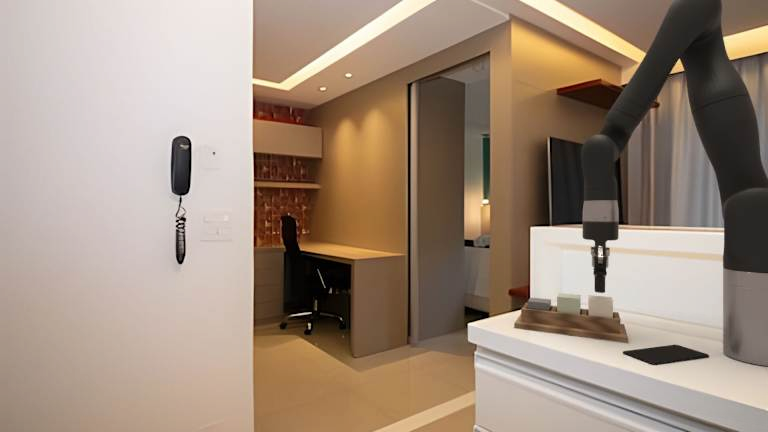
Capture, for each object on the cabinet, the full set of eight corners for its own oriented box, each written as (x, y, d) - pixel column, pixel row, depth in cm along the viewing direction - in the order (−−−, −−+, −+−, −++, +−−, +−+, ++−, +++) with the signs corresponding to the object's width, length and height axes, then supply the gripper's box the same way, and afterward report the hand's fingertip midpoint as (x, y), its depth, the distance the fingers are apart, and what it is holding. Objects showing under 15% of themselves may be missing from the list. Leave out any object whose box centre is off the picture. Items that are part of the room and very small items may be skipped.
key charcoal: (551, 317, 100) (551, 299, 100) (549, 322, 95) (549, 303, 95) (530, 315, 102) (530, 297, 102) (527, 320, 98) (527, 301, 98)
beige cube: (612, 317, 93) (612, 297, 93) (612, 322, 89) (612, 301, 89) (588, 314, 95) (588, 295, 95) (588, 319, 91) (588, 299, 91)
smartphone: (620, 351, 78) (675, 344, 82) (620, 355, 78) (675, 347, 82) (653, 363, 72) (711, 354, 76) (653, 367, 72) (711, 359, 76)
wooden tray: (624, 328, 95) (624, 311, 95) (628, 343, 84) (628, 322, 84) (522, 316, 106) (522, 300, 106) (514, 327, 96) (514, 310, 96)
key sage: (580, 314, 96) (580, 295, 96) (579, 318, 92) (579, 298, 92) (558, 311, 99) (558, 293, 99) (557, 316, 94) (557, 296, 94)
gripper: (620, 220, 84) (619, 299, 84) (617, 219, 96) (616, 289, 96) (581, 220, 88) (581, 295, 88) (583, 219, 100) (582, 286, 100)
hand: (599, 292), depth 92 cm, fingers closed
